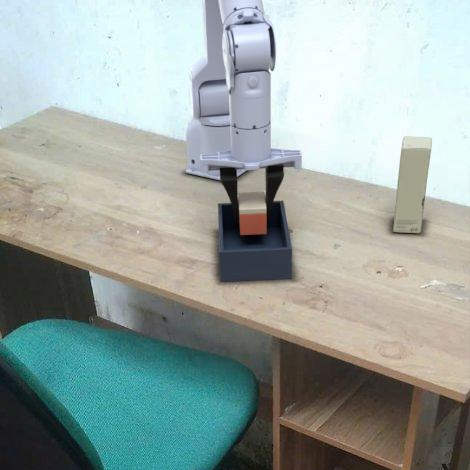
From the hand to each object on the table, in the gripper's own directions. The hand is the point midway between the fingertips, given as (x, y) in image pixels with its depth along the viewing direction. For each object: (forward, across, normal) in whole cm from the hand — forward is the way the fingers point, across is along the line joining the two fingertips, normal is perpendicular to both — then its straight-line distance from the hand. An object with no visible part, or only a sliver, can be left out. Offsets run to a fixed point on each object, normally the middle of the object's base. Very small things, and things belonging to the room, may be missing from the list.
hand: (252, 217), depth 120 cm
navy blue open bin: (+4, 0, -4) cm, 6 cm away
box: (+4, +25, +3) cm, 25 cm away
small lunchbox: (+1, 0, 0) cm, 1 cm away
